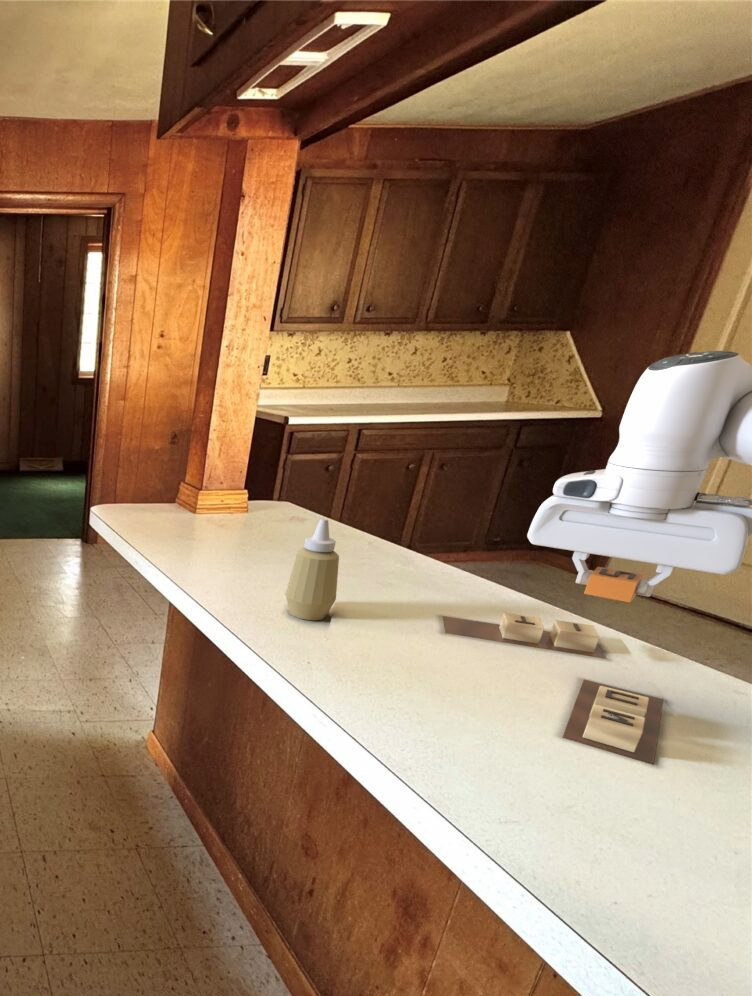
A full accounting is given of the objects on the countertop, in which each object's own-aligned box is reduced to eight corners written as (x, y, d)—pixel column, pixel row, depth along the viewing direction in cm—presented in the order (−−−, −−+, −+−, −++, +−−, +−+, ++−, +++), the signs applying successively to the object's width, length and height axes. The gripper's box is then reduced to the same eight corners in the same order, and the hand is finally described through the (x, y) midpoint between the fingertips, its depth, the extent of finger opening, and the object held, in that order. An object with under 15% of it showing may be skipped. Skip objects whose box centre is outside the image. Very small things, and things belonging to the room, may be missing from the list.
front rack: (581, 685, 94) (590, 660, 93) (660, 705, 89) (671, 679, 88) (560, 742, 82) (570, 715, 81) (650, 770, 77) (663, 741, 75)
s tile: (591, 585, 92) (598, 565, 91) (636, 593, 89) (644, 573, 88) (583, 593, 90) (590, 573, 89) (630, 602, 86) (638, 581, 85)
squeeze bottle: (275, 606, 124) (290, 513, 117) (319, 606, 124) (336, 512, 117) (294, 624, 117) (311, 526, 110) (340, 623, 116) (361, 525, 110)
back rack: (592, 644, 106) (600, 621, 104) (604, 664, 100) (613, 641, 98) (441, 620, 116) (446, 600, 114) (443, 638, 110) (449, 616, 108)
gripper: (774, 495, 78) (728, 603, 83) (551, 473, 93) (524, 566, 98) (771, 505, 75) (723, 617, 80) (540, 481, 90) (512, 576, 95)
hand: (611, 588), depth 89 cm, fingers closed on s tile, 4 cm apart
